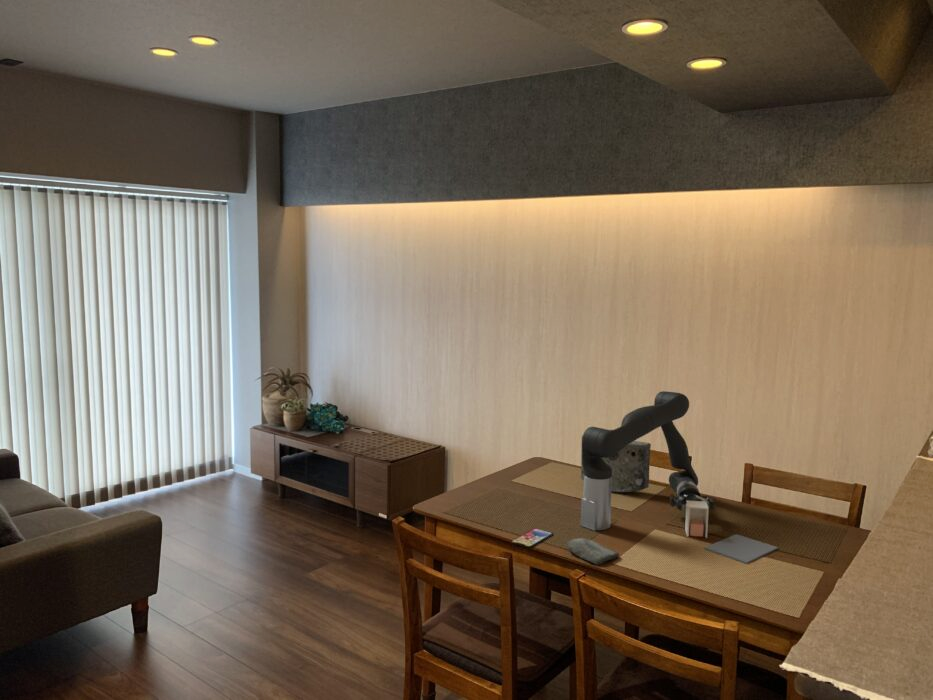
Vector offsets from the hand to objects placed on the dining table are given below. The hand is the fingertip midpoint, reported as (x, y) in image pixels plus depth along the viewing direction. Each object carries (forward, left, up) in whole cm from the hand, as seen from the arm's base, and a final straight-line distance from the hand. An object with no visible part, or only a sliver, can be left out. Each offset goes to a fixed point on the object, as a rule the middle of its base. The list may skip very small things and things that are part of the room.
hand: (693, 508), depth 243 cm
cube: (-5, -5, -6) cm, 9 cm away
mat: (-5, -21, -6) cm, 22 cm away
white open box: (-5, -5, -6) cm, 9 cm away
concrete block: (+10, +42, -6) cm, 44 cm away
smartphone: (-50, +25, -7) cm, 57 cm away
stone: (-45, +6, -7) cm, 46 cm away
